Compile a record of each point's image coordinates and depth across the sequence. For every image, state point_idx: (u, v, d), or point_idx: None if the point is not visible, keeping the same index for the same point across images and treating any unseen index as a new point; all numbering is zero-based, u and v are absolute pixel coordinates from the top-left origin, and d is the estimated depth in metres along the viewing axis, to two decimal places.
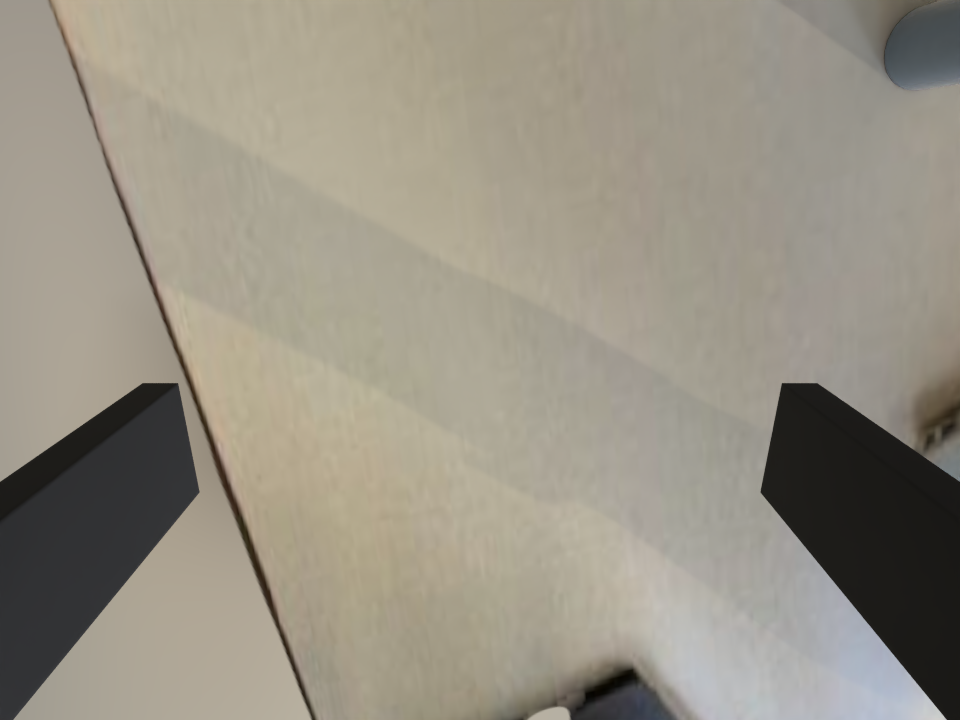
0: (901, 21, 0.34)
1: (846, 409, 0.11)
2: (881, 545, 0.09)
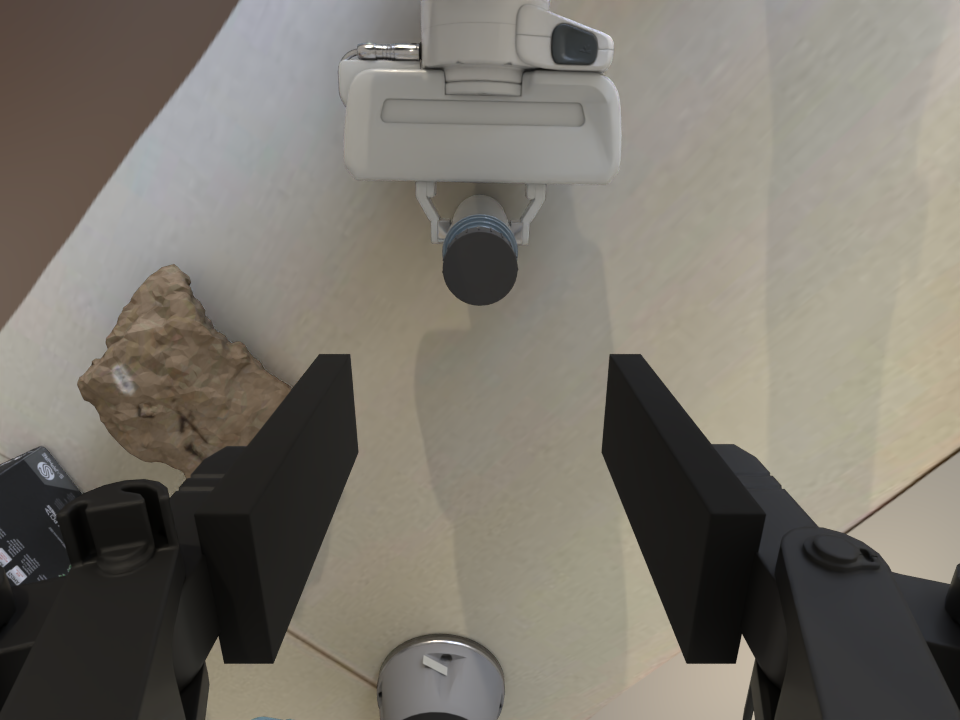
0: None
1: (648, 374, 0.13)
2: (646, 482, 0.11)
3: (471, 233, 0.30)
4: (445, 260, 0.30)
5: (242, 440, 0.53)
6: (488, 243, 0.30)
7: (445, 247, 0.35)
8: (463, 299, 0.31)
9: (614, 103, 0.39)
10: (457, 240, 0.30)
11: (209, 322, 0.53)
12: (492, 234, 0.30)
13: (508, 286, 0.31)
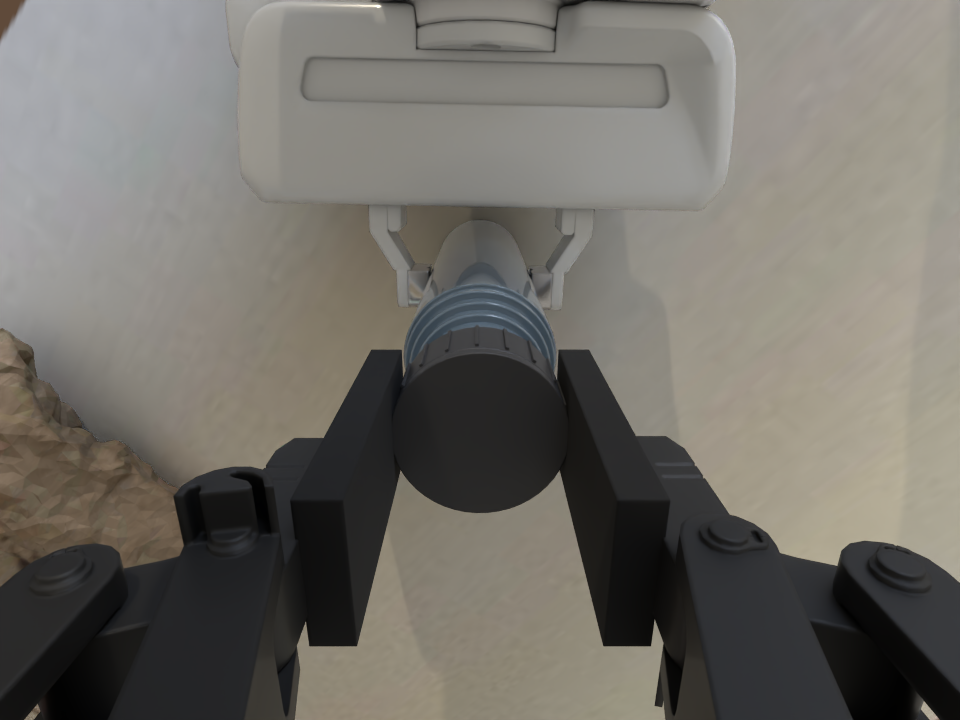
0: None
1: (591, 368, 0.13)
2: (580, 473, 0.11)
3: (458, 357, 0.12)
4: (396, 418, 0.13)
5: None
6: (500, 380, 0.12)
7: (408, 351, 0.17)
8: (441, 500, 0.13)
9: (726, 64, 0.21)
10: (424, 373, 0.12)
11: (69, 412, 0.35)
12: (510, 359, 0.12)
13: (547, 474, 0.13)
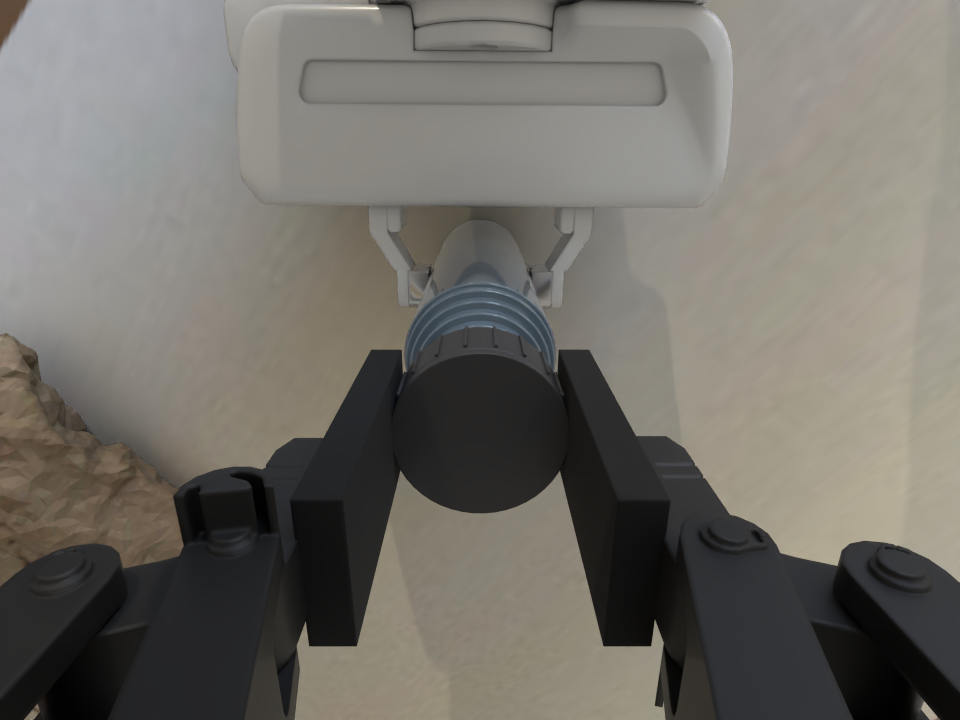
0: None
1: (592, 368, 0.13)
2: (579, 473, 0.11)
3: (442, 504, 0.13)
4: (527, 498, 0.13)
5: None
6: (426, 467, 0.13)
7: (409, 350, 0.17)
8: (560, 409, 0.13)
9: (723, 61, 0.21)
10: (477, 510, 0.13)
11: (73, 415, 0.35)
12: (406, 475, 0.13)
13: (453, 366, 0.12)
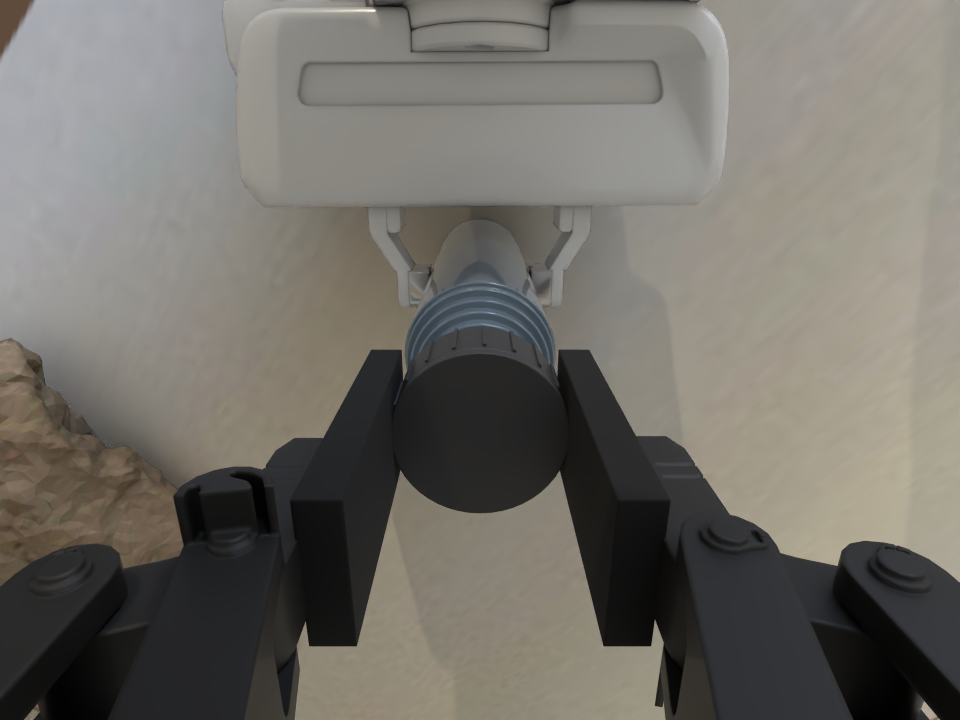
0: None
1: (591, 368, 0.13)
2: (580, 473, 0.11)
3: (562, 406, 0.12)
4: (488, 357, 0.12)
5: None
6: (544, 445, 0.13)
7: (409, 350, 0.17)
8: (398, 412, 0.13)
9: (719, 58, 0.22)
10: (541, 377, 0.12)
11: (78, 419, 0.35)
12: (565, 449, 0.13)
13: (451, 501, 0.13)
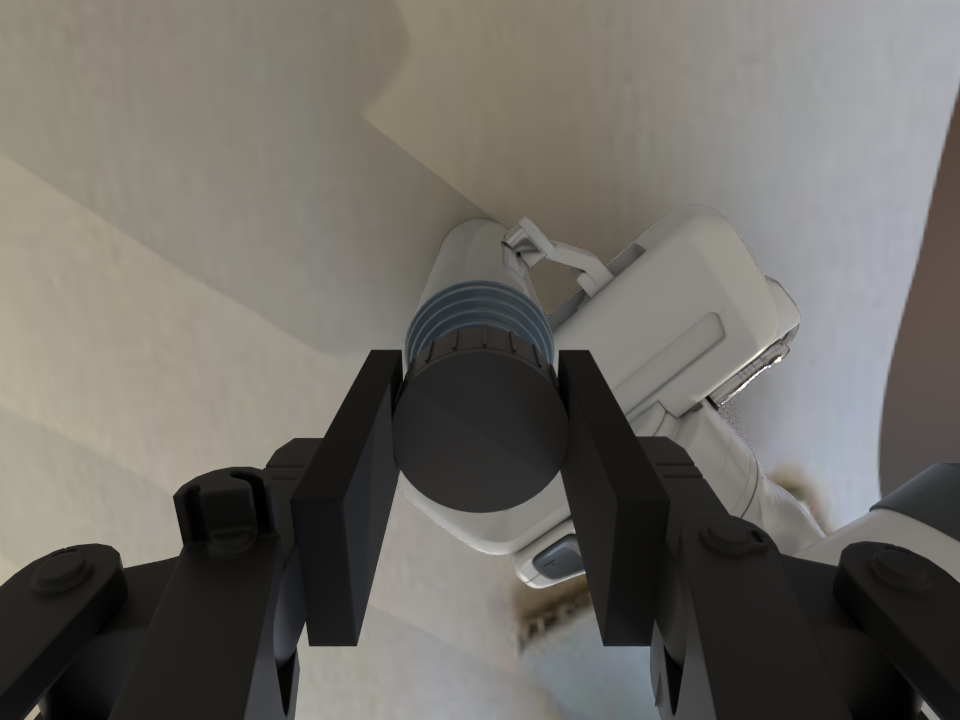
0: (450, 232, 0.32)
1: (592, 368, 0.13)
2: (580, 473, 0.11)
3: (562, 406, 0.12)
4: (488, 357, 0.12)
5: None
6: (544, 445, 0.13)
7: (540, 323, 0.17)
8: (398, 412, 0.13)
9: (474, 543, 0.29)
10: (541, 377, 0.12)
11: None
12: (565, 449, 0.13)
13: (451, 501, 0.13)
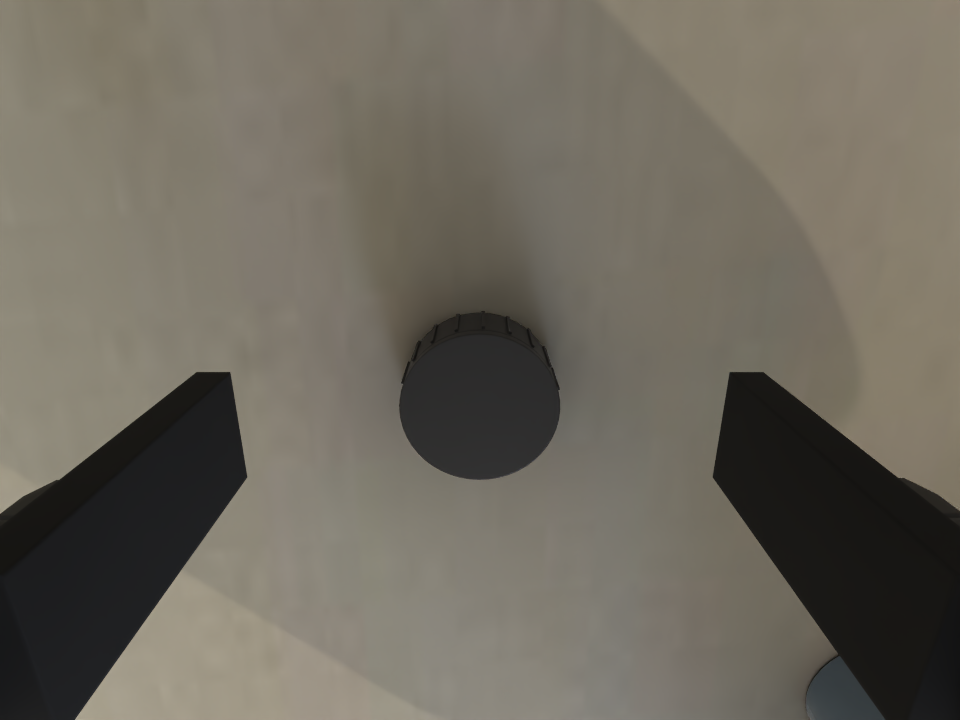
0: (842, 662, 0.19)
1: (785, 396, 0.12)
2: (806, 521, 0.10)
3: (552, 382, 0.14)
4: (486, 338, 0.14)
5: None
6: (536, 417, 0.14)
7: None
8: (407, 387, 0.14)
9: None
10: (533, 355, 0.14)
11: None
12: (555, 421, 0.14)
13: (454, 469, 0.15)
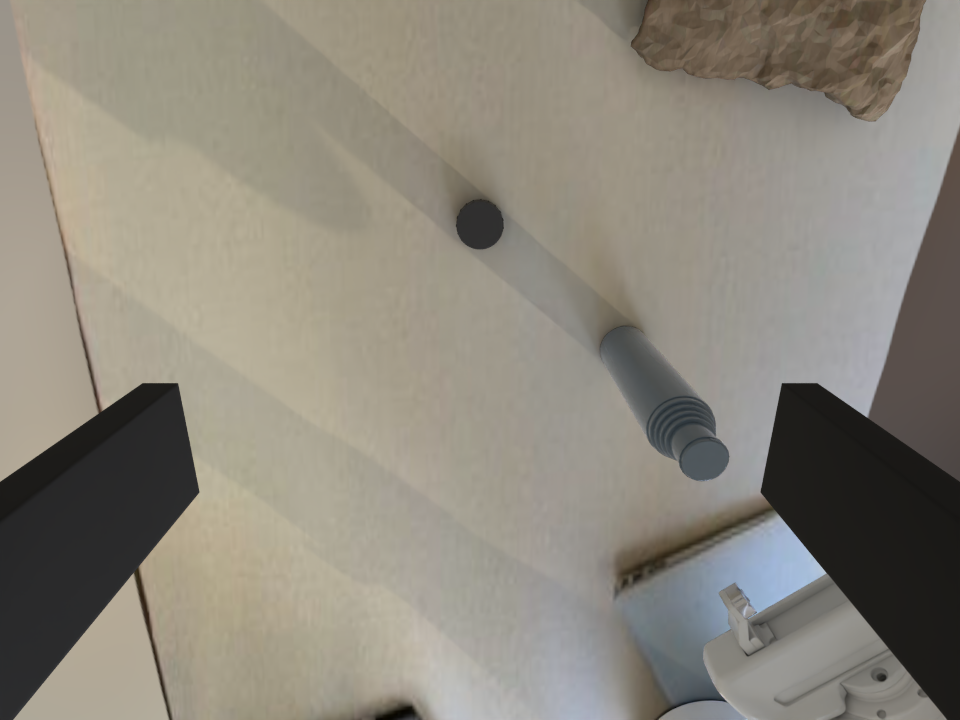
0: (609, 333, 0.54)
1: (846, 409, 0.11)
2: (881, 546, 0.09)
3: (500, 216, 0.49)
4: (481, 202, 0.48)
5: None
6: (496, 228, 0.49)
7: (712, 416, 0.39)
8: (459, 218, 0.49)
9: None
10: (495, 208, 0.49)
11: None
12: (502, 229, 0.49)
13: (472, 245, 0.50)
